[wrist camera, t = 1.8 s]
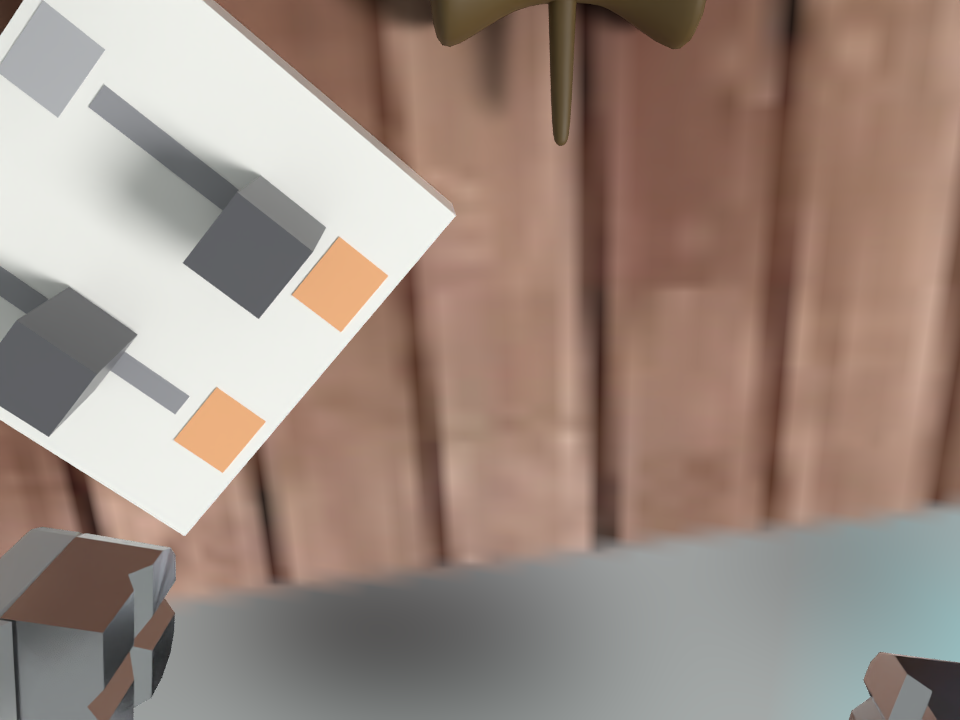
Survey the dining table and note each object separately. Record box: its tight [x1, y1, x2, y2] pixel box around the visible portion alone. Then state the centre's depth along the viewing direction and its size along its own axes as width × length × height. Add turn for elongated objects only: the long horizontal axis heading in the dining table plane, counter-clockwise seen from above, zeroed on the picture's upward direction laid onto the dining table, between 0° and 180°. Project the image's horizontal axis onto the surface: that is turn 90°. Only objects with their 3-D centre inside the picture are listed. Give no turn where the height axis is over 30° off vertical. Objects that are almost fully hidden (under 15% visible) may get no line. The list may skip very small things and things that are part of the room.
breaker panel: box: [0, 0, 456, 536], centre depth 32 cm, size 16×18×3 cm
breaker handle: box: [183, 175, 326, 319], centre depth 29 cm, size 3×3×4 cm
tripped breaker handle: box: [0, 287, 138, 437], centre depth 30 cm, size 3×3×4 cm
